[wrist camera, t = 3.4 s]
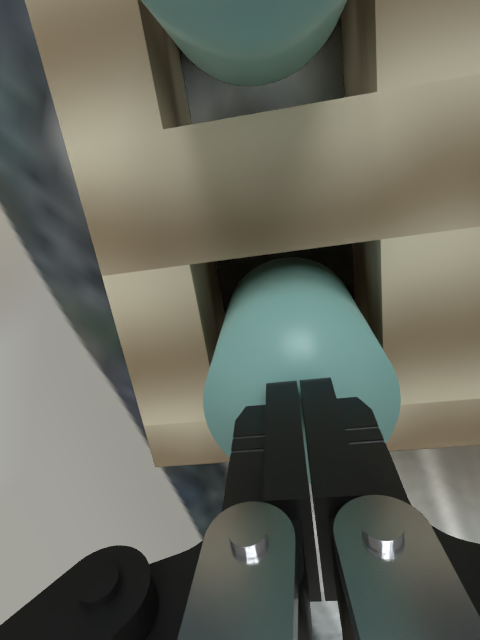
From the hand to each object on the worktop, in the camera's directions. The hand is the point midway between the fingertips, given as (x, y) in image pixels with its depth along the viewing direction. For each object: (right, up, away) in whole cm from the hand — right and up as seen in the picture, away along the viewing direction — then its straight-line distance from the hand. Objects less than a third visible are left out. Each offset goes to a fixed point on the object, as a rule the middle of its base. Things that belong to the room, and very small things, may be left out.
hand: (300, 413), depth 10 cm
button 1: (0, +2, +6) cm, 6 cm away
